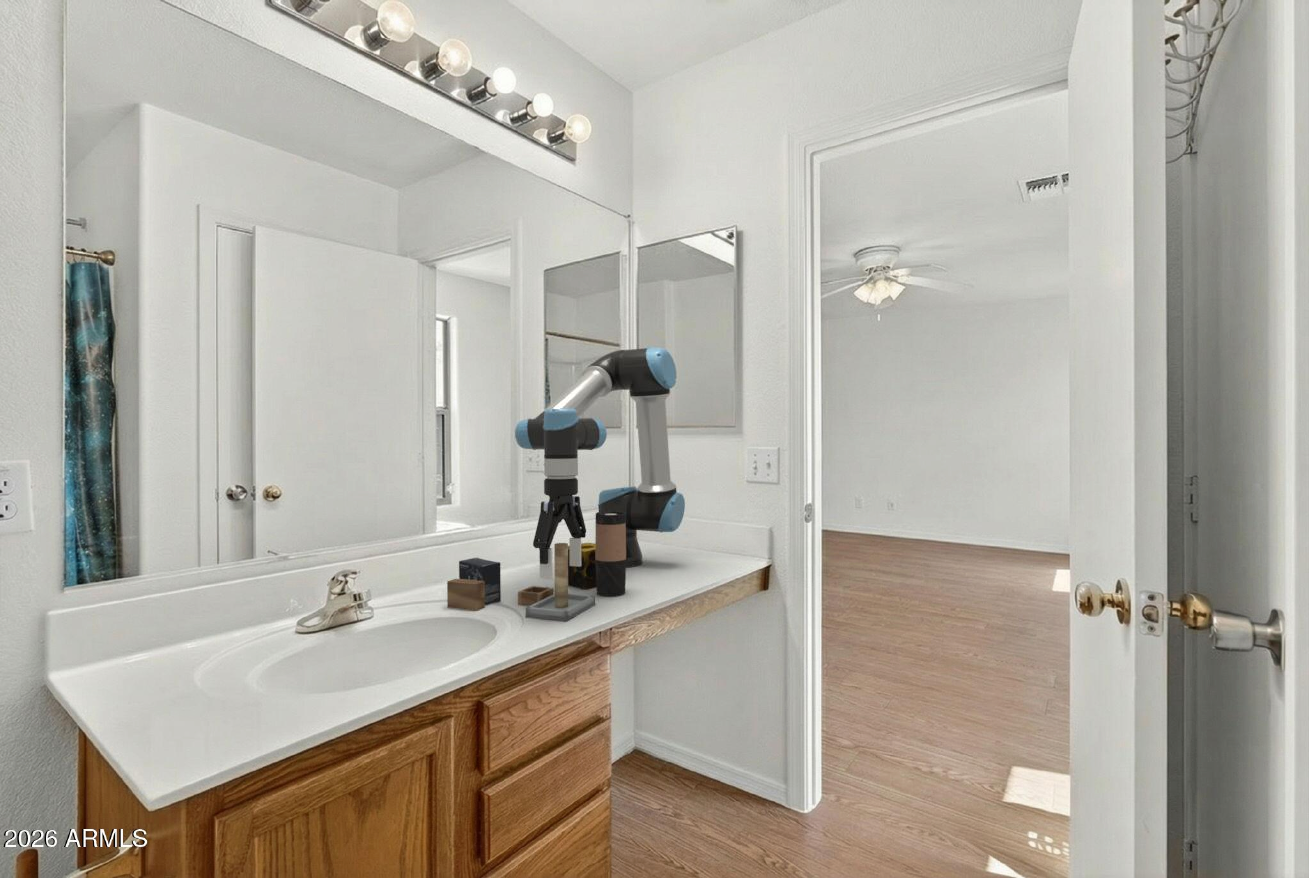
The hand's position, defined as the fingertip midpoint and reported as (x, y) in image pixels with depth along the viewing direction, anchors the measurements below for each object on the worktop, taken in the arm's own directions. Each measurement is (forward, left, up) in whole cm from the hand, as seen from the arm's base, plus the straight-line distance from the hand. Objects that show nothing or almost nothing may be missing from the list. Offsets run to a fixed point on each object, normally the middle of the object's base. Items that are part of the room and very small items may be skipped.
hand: (561, 572), depth 141 cm
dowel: (0, 0, -8) cm, 8 cm away
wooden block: (+5, -22, -9) cm, 24 cm away
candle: (-25, -6, -9) cm, 27 cm away
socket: (-4, -9, -9) cm, 13 cm away
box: (-1, -23, -9) cm, 25 cm away
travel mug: (-18, +4, -9) cm, 20 cm away
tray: (0, 0, -9) cm, 9 cm away
